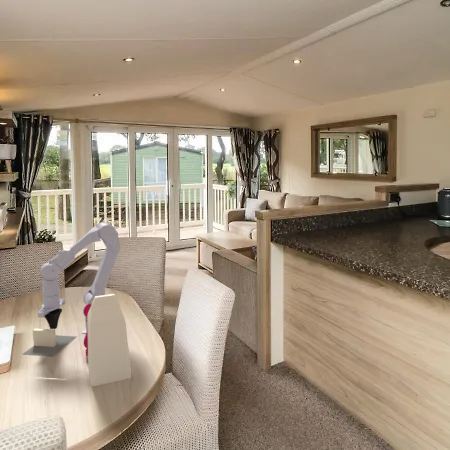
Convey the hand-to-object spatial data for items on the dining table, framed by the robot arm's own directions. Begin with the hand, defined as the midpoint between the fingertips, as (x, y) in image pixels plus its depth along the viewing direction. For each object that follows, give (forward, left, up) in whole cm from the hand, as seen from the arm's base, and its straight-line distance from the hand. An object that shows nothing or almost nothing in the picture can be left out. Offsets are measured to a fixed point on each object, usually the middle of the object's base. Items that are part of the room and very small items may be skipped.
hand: (53, 328), depth 148 cm
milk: (-32, +20, -5) cm, 38 cm away
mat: (-2, +5, -4) cm, 7 cm away
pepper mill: (-21, +8, -5) cm, 23 cm away
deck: (0, +6, -4) cm, 7 cm away
